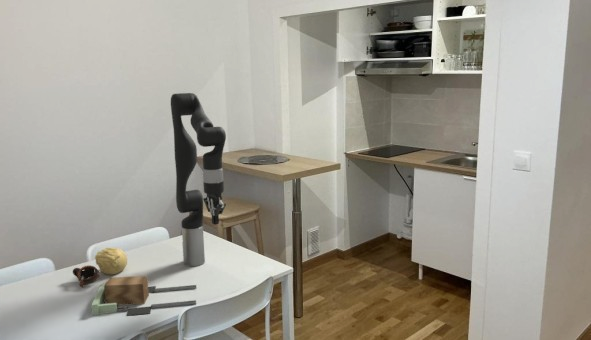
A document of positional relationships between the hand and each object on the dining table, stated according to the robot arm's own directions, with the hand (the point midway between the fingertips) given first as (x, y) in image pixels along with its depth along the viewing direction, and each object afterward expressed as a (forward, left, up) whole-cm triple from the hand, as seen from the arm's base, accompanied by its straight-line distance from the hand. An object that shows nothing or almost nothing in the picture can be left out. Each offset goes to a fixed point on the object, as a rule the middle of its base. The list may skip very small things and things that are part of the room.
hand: (215, 223), depth 185 cm
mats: (-11, -27, -27) cm, 40 cm away
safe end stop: (-17, -37, -27) cm, 49 cm away
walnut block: (-15, -31, -27) cm, 44 cm away
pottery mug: (-41, -37, -27) cm, 62 cm away
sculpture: (-45, -25, -27) cm, 58 cm away
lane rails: (-8, -22, -27) cm, 35 cm away
